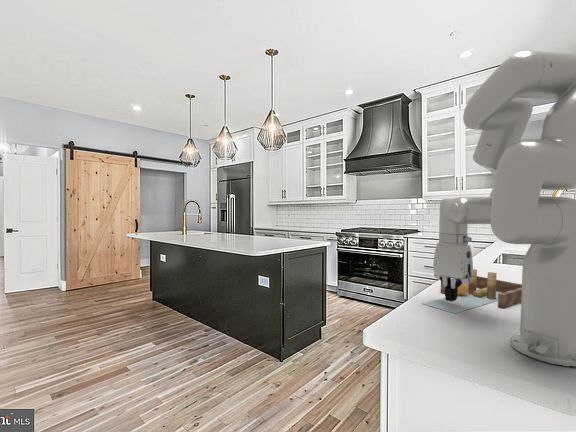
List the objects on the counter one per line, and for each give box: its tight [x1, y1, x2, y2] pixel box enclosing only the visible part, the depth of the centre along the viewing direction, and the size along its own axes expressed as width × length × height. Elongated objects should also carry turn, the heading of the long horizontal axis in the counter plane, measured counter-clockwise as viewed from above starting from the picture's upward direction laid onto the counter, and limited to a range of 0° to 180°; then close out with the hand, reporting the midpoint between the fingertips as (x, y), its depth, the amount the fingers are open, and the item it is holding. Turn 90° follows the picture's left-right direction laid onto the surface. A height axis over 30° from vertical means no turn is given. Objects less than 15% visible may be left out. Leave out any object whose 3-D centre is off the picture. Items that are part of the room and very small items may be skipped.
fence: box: [440, 275, 522, 309], centre depth 105 cm, size 20×20×4 cm
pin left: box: [467, 268, 478, 295], centre depth 106 cm, size 2×2×8 cm
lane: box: [421, 288, 502, 314], centre depth 100 cm, size 36×10×1 cm, turn 122°
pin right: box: [487, 271, 498, 300], centre depth 101 cm, size 2×2×8 cm
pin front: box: [473, 287, 487, 298], centre depth 105 cm, size 2×2×8 cm
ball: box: [451, 278, 469, 295], centre depth 106 cm, size 6×6×6 cm
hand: (450, 300), depth 94 cm, fingers closed
